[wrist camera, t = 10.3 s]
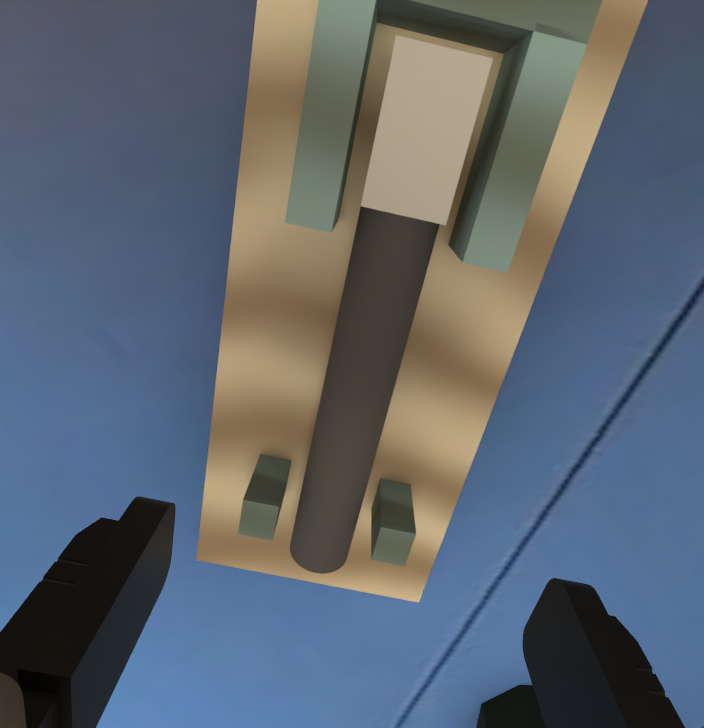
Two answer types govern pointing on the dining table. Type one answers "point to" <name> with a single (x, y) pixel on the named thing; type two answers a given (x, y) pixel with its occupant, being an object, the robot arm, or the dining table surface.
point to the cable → (385, 282)
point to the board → (443, 277)
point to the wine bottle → (512, 710)
